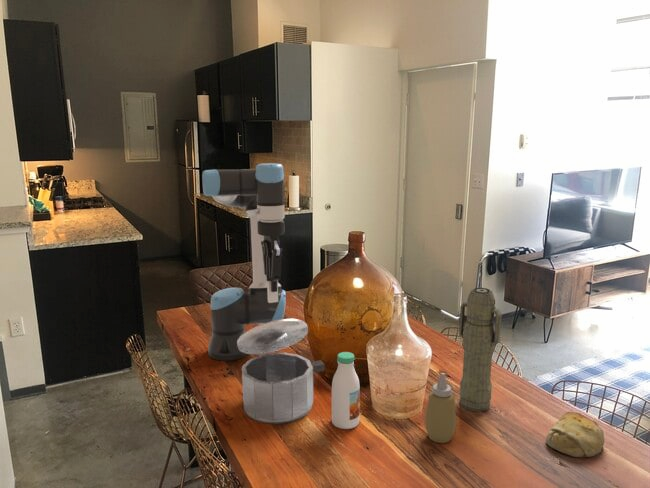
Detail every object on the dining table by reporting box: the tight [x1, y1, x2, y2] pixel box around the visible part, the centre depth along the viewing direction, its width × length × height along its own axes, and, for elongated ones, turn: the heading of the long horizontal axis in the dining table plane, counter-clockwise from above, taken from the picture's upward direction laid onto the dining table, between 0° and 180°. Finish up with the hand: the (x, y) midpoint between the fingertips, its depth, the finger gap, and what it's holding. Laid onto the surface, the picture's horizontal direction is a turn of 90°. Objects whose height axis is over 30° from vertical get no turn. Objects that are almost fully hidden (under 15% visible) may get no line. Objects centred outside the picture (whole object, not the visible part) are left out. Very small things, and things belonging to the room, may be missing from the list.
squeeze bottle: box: [424, 372, 457, 444], centre depth 134 cm, size 8×8×18 cm
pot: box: [241, 352, 326, 425], centre depth 152 cm, size 24×20×12 cm
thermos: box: [458, 287, 503, 412], centre depth 149 cm, size 9×12×35 cm
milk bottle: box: [331, 351, 361, 430], centre depth 141 cm, size 8×8×20 cm
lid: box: [237, 318, 309, 356], centre depth 152 cm, size 22×21×3 cm
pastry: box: [545, 411, 605, 458], centre depth 132 cm, size 14×12×8 cm
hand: (273, 301), depth 147 cm, fingers closed
